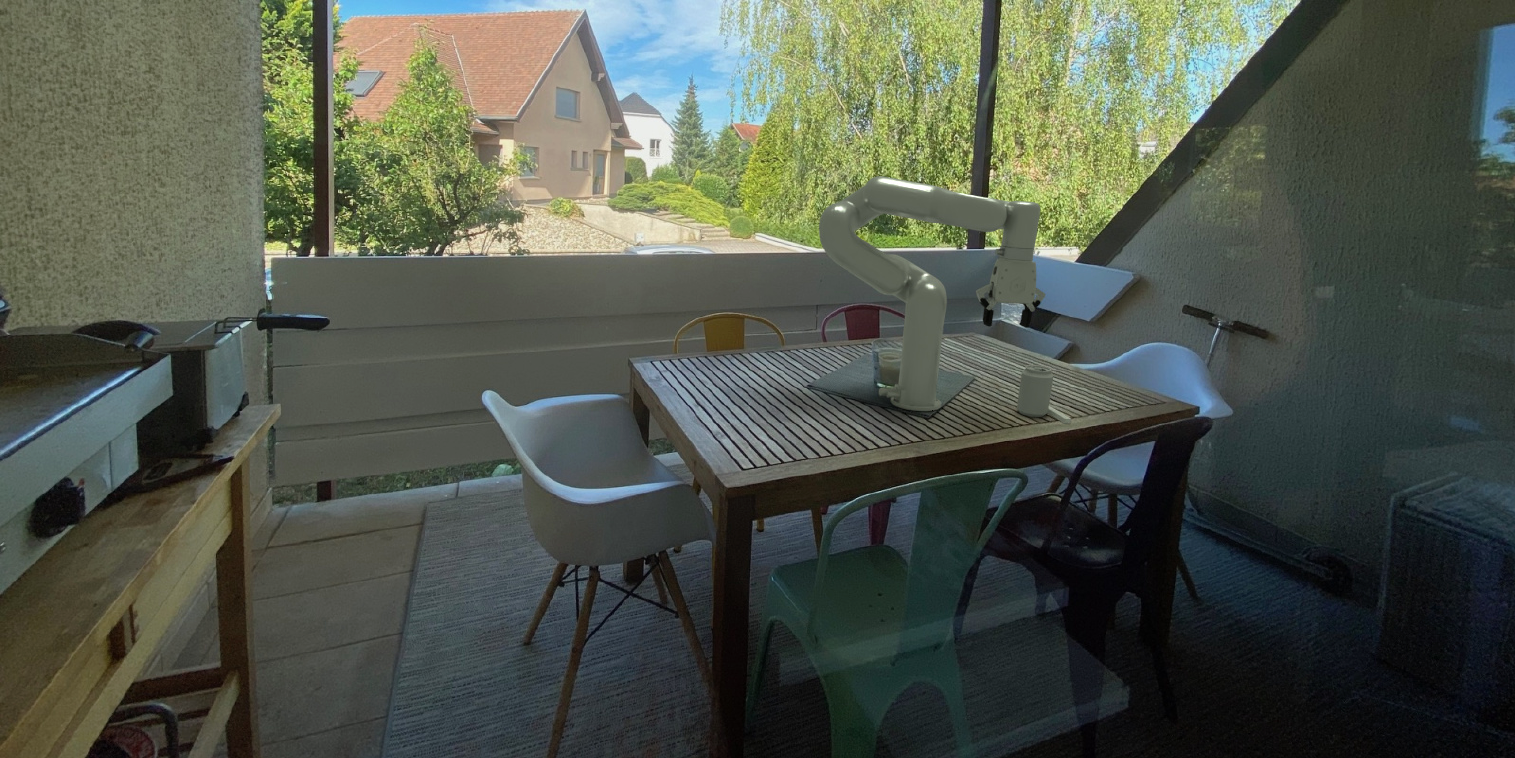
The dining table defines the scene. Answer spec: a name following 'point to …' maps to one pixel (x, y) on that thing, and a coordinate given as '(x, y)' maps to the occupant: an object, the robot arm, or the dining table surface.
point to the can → (1035, 391)
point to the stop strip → (1059, 415)
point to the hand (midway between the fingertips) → (1005, 326)
